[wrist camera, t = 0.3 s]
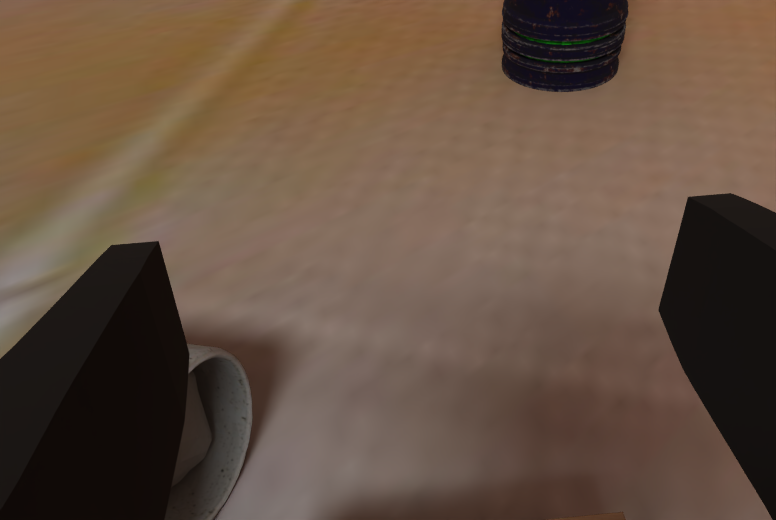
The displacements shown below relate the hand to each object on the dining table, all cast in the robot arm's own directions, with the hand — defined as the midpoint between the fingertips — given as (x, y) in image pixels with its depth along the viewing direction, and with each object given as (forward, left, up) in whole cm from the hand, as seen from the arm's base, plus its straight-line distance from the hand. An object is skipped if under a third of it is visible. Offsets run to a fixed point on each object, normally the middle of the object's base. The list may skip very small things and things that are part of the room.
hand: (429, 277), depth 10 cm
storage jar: (+48, -16, -21) cm, 55 cm away
